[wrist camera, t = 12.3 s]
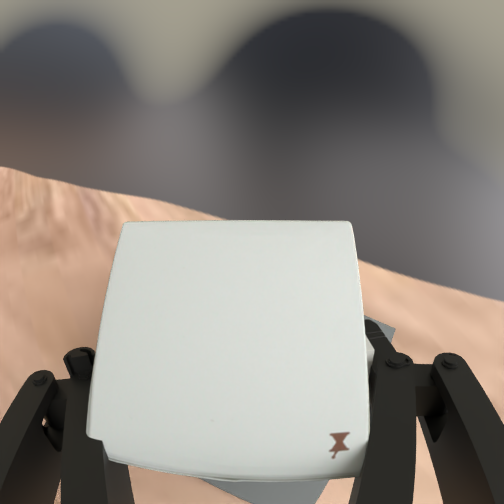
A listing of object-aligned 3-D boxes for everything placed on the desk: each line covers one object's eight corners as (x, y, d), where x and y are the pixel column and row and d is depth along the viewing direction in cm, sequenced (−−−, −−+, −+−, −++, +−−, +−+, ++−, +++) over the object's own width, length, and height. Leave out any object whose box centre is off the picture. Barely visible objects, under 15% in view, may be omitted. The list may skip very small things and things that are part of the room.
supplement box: (308, 328, 20) (361, 216, 9) (307, 439, 16) (376, 484, 5) (197, 324, 20) (121, 213, 9) (188, 433, 17) (78, 458, 6)
